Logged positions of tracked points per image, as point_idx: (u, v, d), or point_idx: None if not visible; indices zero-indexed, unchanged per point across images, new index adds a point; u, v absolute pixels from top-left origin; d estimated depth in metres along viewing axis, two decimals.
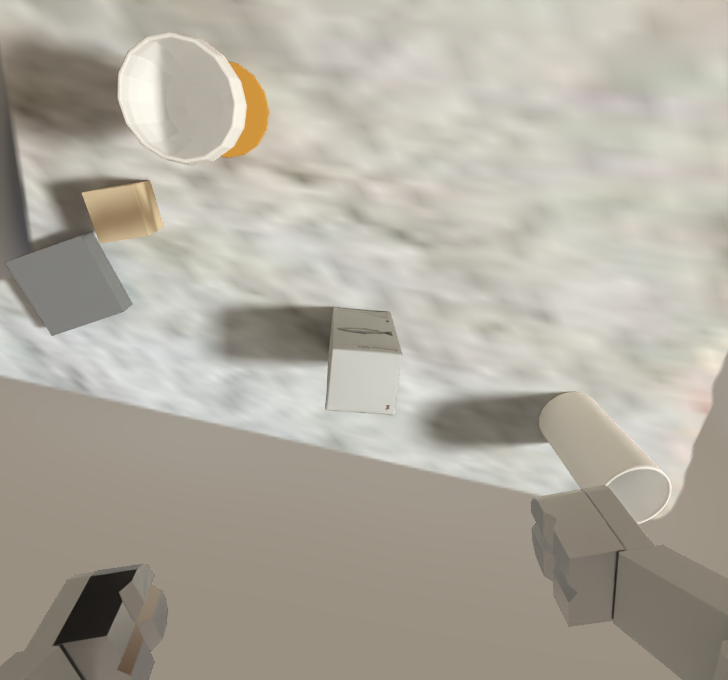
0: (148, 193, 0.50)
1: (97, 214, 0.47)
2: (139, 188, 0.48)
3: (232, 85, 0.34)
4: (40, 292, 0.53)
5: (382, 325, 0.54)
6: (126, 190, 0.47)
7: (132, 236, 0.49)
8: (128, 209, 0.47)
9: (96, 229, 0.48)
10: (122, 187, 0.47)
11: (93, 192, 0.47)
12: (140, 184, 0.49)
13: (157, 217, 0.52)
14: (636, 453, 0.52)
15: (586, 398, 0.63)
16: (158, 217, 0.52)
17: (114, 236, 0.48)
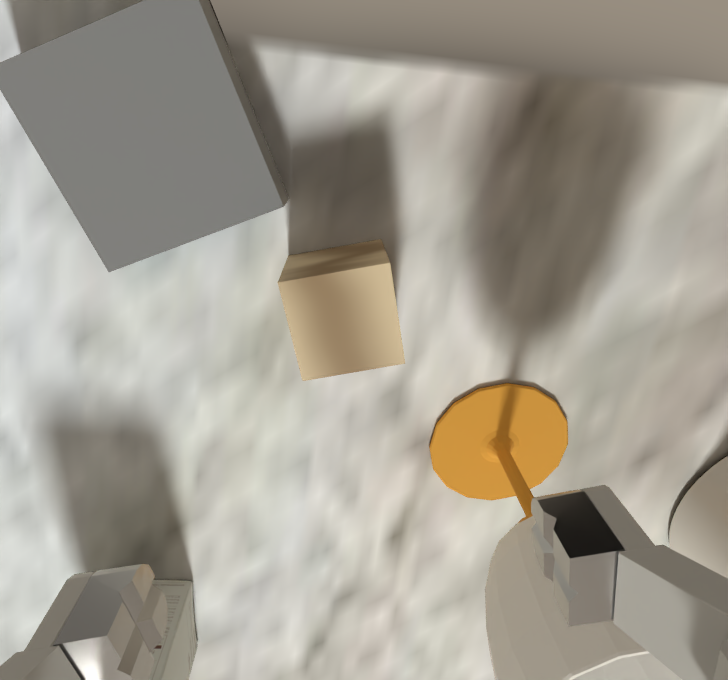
0: None
1: (343, 288, 0.21)
2: None
3: None
4: (118, 66, 0.19)
5: None
6: (395, 352, 0.23)
7: (298, 351, 0.22)
8: (356, 350, 0.22)
9: (309, 280, 0.21)
10: (400, 345, 0.22)
11: (390, 287, 0.21)
12: None
13: None
14: None
15: None
16: None
17: (296, 315, 0.22)
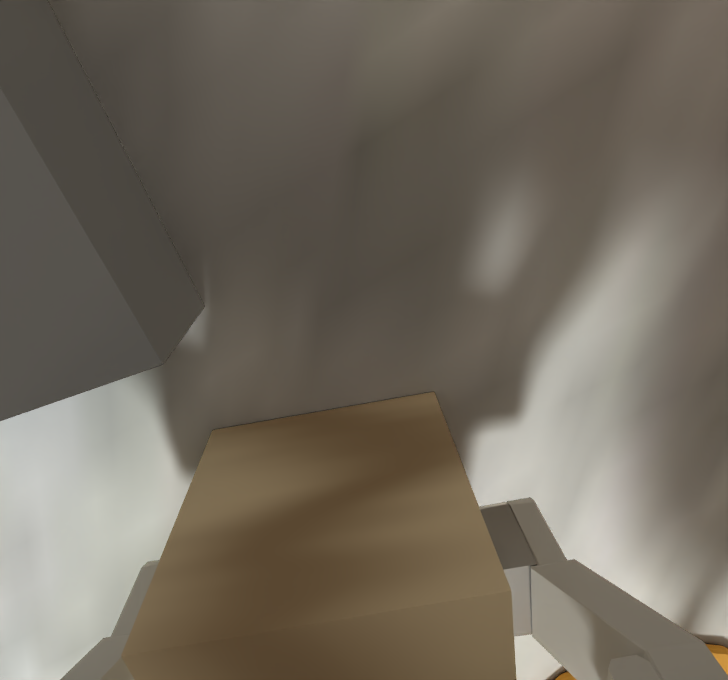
0: None
1: (347, 659, 0.06)
2: None
3: None
4: None
5: None
6: None
7: None
8: None
9: (230, 646, 0.06)
10: None
11: (503, 650, 0.06)
12: None
13: None
14: None
15: None
16: None
17: None
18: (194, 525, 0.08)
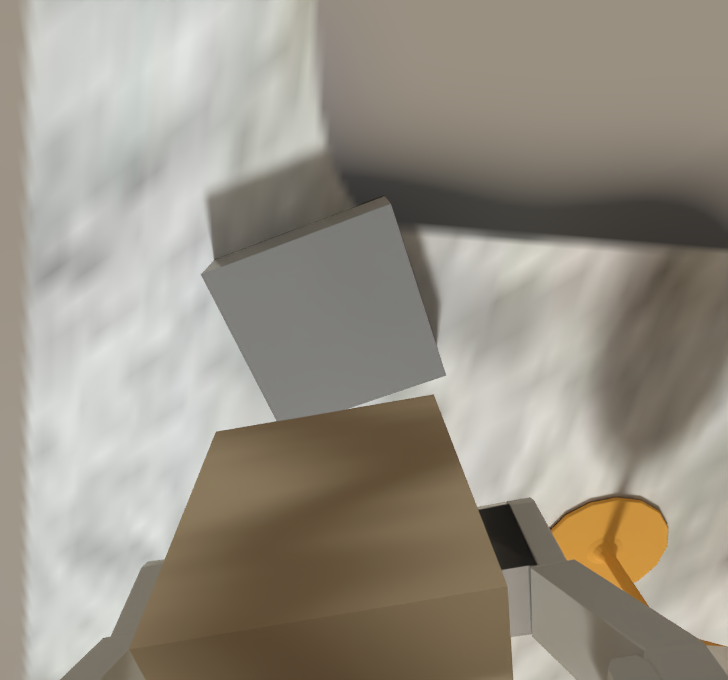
0: None
1: (348, 653, 0.07)
2: None
3: None
4: (316, 270, 0.22)
5: None
6: None
7: None
8: None
9: (235, 639, 0.06)
10: None
11: (499, 645, 0.07)
12: None
13: None
14: None
15: None
16: None
17: None
18: (199, 524, 0.08)
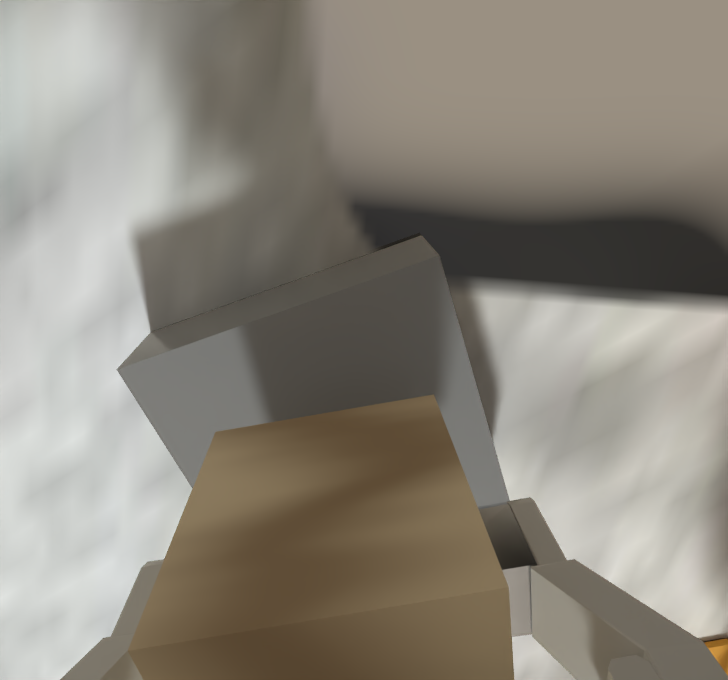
0: None
1: (348, 654, 0.06)
2: None
3: None
4: (311, 362, 0.13)
5: None
6: None
7: None
8: None
9: (234, 641, 0.06)
10: None
11: (500, 646, 0.07)
12: None
13: None
14: None
15: None
16: None
17: None
18: (198, 524, 0.08)
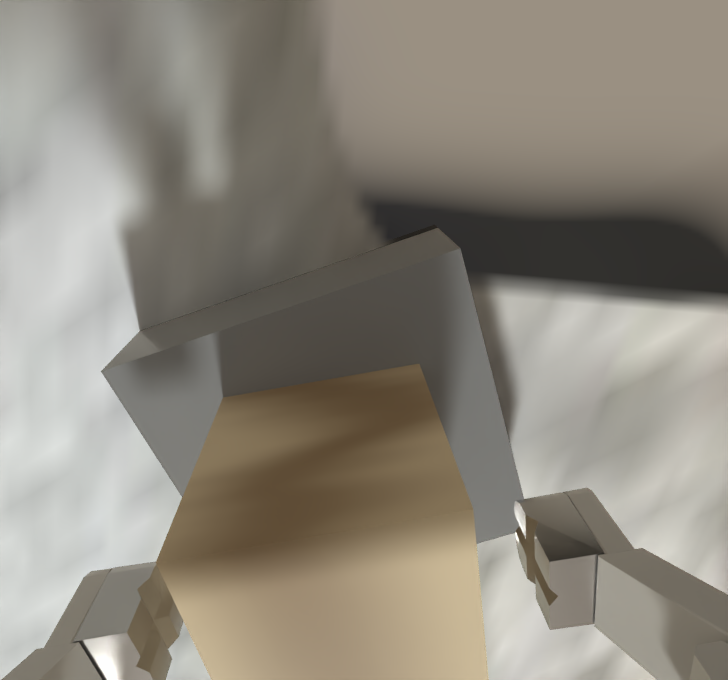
0: None
1: (340, 568, 0.08)
2: None
3: None
4: (316, 365, 0.12)
5: None
6: None
7: None
8: None
9: (244, 555, 0.07)
10: (482, 670, 0.09)
11: (468, 562, 0.08)
12: None
13: None
14: None
15: None
16: None
17: (214, 626, 0.08)
18: (210, 470, 0.09)
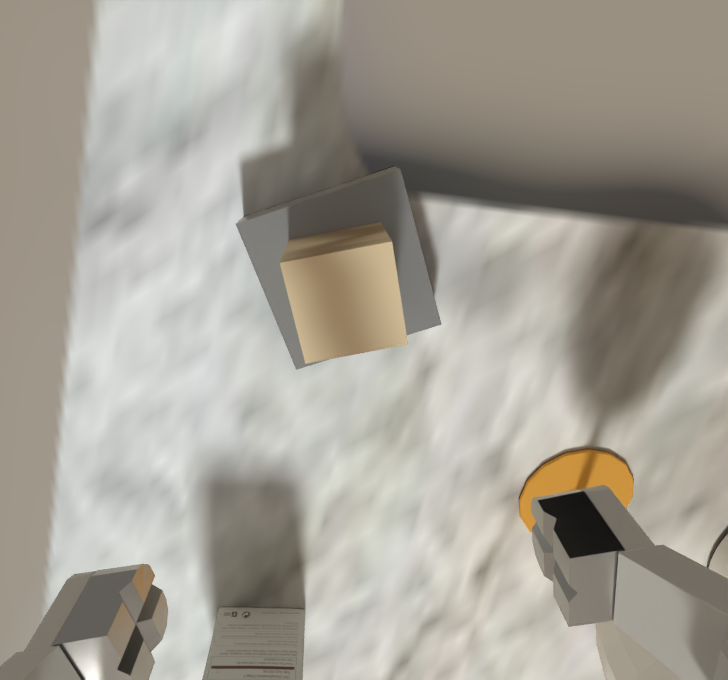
0: None
1: (345, 268, 0.21)
2: None
3: None
4: (334, 225, 0.25)
5: None
6: (397, 333, 0.23)
7: (301, 333, 0.22)
8: (359, 331, 0.22)
9: (311, 260, 0.21)
10: (402, 326, 0.22)
11: (392, 267, 0.21)
12: None
13: None
14: None
15: None
16: None
17: (298, 295, 0.21)
18: (291, 250, 0.23)
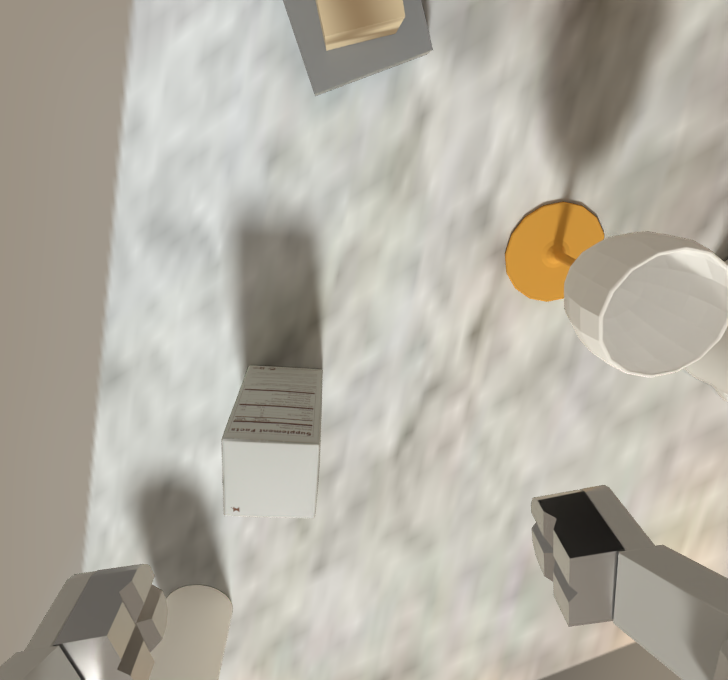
0: (381, 33, 0.32)
1: None
2: (394, 24, 0.30)
3: (667, 373, 0.30)
4: None
5: None
6: (396, 5, 0.29)
7: (321, 5, 0.28)
8: (366, 3, 0.28)
9: None
10: None
11: None
12: (398, 24, 0.31)
13: (343, 43, 0.33)
14: None
15: None
16: (342, 44, 0.33)
17: None
18: None
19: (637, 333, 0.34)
